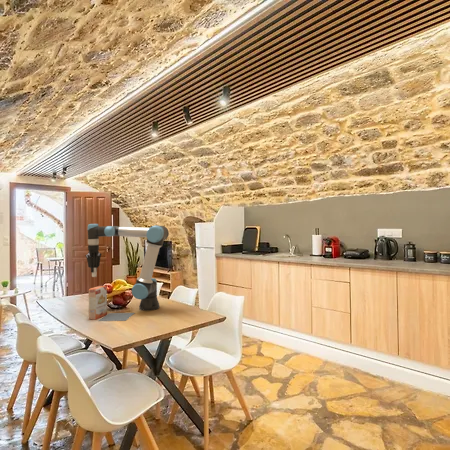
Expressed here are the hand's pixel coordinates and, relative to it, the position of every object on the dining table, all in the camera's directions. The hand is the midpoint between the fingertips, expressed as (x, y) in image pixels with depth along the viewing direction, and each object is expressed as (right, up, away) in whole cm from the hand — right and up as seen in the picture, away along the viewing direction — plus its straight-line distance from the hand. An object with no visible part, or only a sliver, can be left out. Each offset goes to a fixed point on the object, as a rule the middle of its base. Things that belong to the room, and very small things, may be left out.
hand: (94, 276), depth 251 cm
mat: (+22, -26, -14) cm, 37 cm away
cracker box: (+8, -26, -13) cm, 31 cm away
